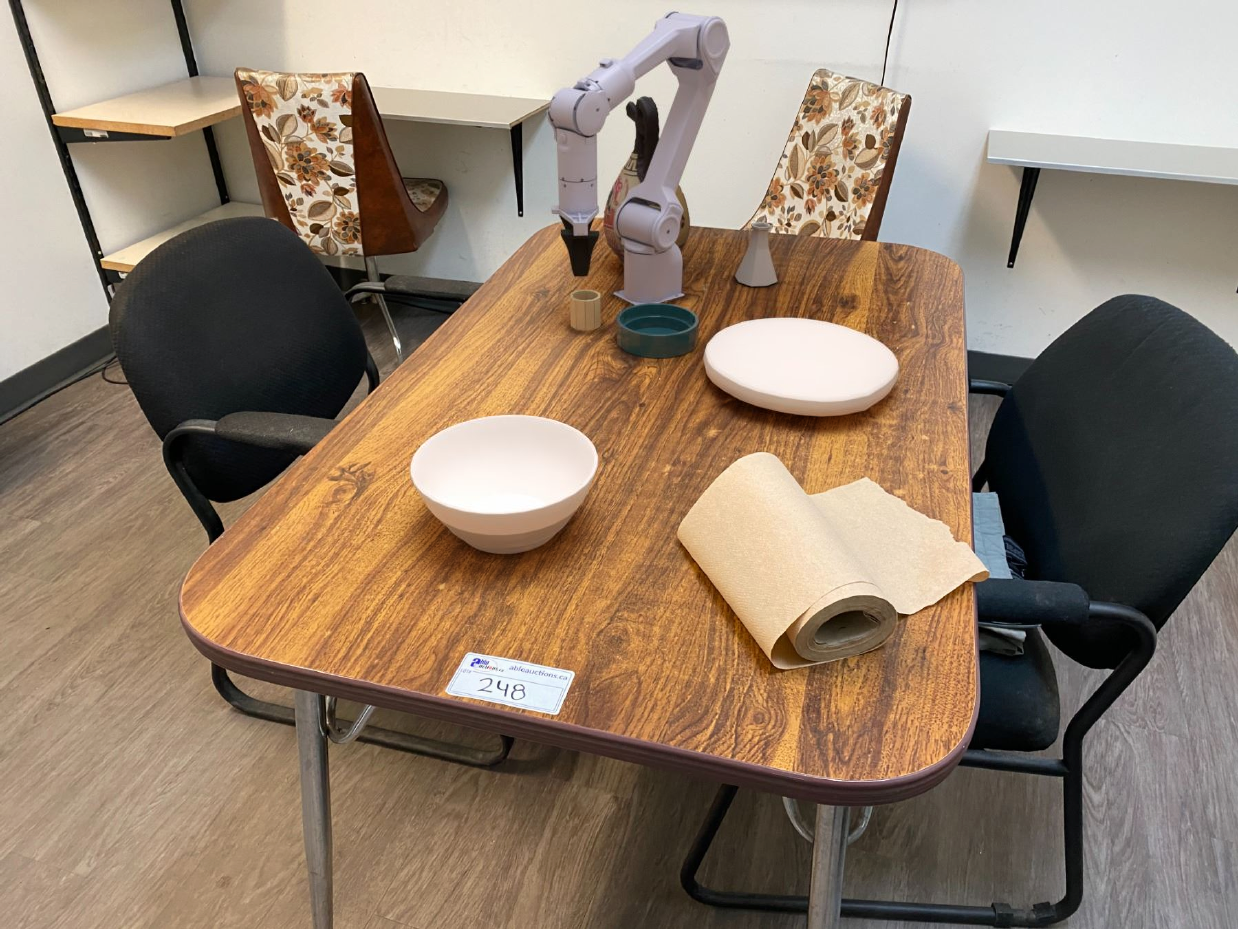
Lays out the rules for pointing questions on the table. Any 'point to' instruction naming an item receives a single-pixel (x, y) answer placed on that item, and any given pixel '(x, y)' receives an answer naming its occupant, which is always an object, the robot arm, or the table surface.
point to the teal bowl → (657, 330)
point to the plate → (801, 366)
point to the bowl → (505, 479)
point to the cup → (585, 309)
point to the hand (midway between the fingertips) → (579, 266)
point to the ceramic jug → (639, 173)
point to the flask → (757, 259)
